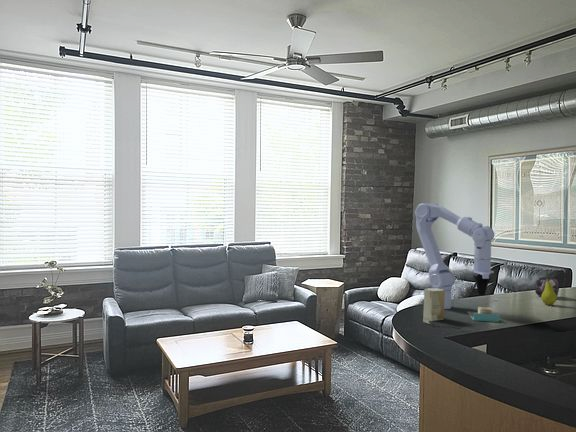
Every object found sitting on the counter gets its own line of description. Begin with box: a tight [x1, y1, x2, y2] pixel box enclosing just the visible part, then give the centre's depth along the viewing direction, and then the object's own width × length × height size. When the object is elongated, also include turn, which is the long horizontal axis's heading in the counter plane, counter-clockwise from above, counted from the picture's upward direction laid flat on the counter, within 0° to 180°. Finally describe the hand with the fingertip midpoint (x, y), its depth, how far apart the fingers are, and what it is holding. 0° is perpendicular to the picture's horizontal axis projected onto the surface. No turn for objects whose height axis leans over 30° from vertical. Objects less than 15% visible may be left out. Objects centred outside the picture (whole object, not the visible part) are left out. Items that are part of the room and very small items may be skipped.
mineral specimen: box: [534, 276, 560, 297], centre depth 218 cm, size 10×10×10 cm
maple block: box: [477, 306, 493, 314], centre depth 167 cm, size 4×4×4 cm
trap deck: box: [466, 311, 500, 323], centre depth 171 cm, size 14×8×4 cm, turn 168°
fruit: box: [540, 276, 558, 306], centre depth 200 cm, size 6×6×12 cm
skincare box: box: [422, 288, 445, 325], centre depth 167 cm, size 6×4×12 cm
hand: (481, 294), depth 173 cm, fingers closed
